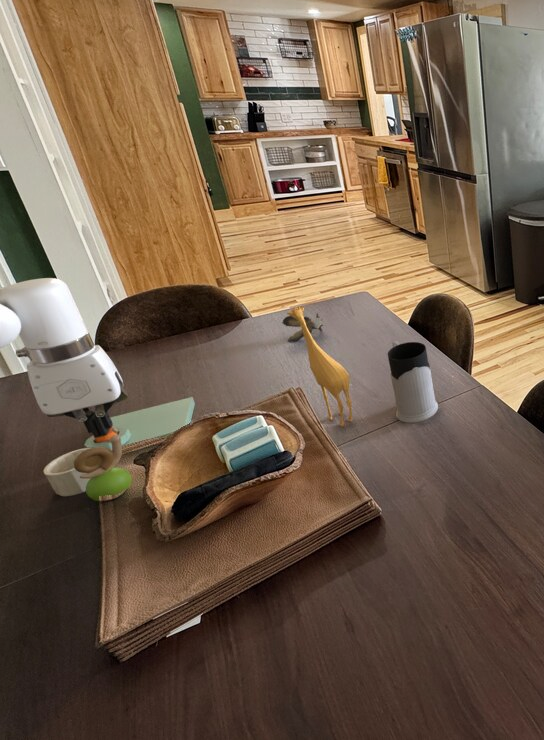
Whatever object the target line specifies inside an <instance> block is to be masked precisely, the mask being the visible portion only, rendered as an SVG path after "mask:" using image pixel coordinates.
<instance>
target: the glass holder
mask: <svg viewBox="0 0 544 740" xmlns="http://www.w3.org/2000/svg"><path fill="white" fill-rule="evenodd" d="M387 359H388V364H389V369H390V379H391V384H392V390H393V394H394V400H395V403H396V413H395V415H396V416H395V417H396V418H397V419H398V421H400V422H403V423H406V424H415V423H419V422H423V421H426V420H427V419H429V418H432V417H433V416H434V415H435V414H436V413H437V412H438V409H439V404H438V402H437V400H436V397H435V392H434V390H435V389H434V384H433V379H432V373H431V365H430V363H429V357H428V352H427V346H426V345H425V344H424V343H422V342H419V341H409V342H403V343H400V344H399V342H398V341H397V340H395V341H393V342H392V347H391V348H390V349H389V350H388V352H387Z"/></svg>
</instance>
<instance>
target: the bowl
mask: <svg viewBox="0 0 544 740" xmlns="http://www.w3.org/2000/svg"><path fill="white" fill-rule="evenodd" d="M87 449H90V448H85V447H84V448H80V449H76V450H72V451H70V452H67V453H65V454H62V455H60V456H58V457H56V458H55V459H53V460H51V461H50V462H49V463H47V465H46V466H45V467H44V469H43V470H42V472H43V474H44V476H45V477H46V479H47V480H48V482H49V484H50V486H51V488H52V490H53V491H54V493H55V494H56V495H59V496H60V497H72V496H76V495H79V494H82V493H86V485H87V483H88V481H89V479H84V478H80V476H81V475H84V474H86V473H81V472H78V471H76V470H75V468H74V461H75V459H76V458H77V456H78V455H79V454H81V453H82V452H84V451H85V450H87Z"/></svg>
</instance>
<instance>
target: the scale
mask: <svg viewBox="0 0 544 740" xmlns="http://www.w3.org/2000/svg"><path fill="white" fill-rule="evenodd" d="M195 406H196V403H195V400H194V397H193V396H190V397H187V398H182V399H178V400H173V401H170V402H167V403H162V404H158V405H155V406H151V407H147V408H142V409H138V410H134V411H131V412H126V413H123V414H118V415H115V416H110V418H111V420H112V423H113V426H112V427H114V428H116V430H118V432H117V433H118V435H120V436H121V437H120V438H121V446H124V445H128V444H131V443H135V442H139V441H142V440H146V439H152V438H159V437H165V436H167V435H169V434H171V433H173V432H174V431H176V430H178V429H180V428H181V427H183V426H185V425H187V424H189V423H190V422H191V423H192V419H193V413H194V409H195ZM191 423H190V424H191ZM84 442H85V443H83V445H84V448H94V447H106V448H108V449H110V450H112V444H111V443H110V441H106V442H102V443H96V441H95V439H94V437H93V435H91V436H90V437H89V438H87V439H86V440H85V441H84Z"/></svg>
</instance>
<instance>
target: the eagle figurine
mask: <svg viewBox="0 0 544 740" xmlns="http://www.w3.org/2000/svg"><path fill="white" fill-rule="evenodd" d="M303 317H304V320H305V323H306V326H307V328H308V330H309V332H310V334H312V333H313V330H319V331H320V332H323V328H322V327H324V325H323V324H322V321H323V320H324V319H323V318H322V319H321V318H320V315H319V312H317V313H316V317H315V318H314V320H313V321H312V319H311V318H310V317H308V316H303ZM281 323H282V325H285V327H292V328H293V327H295V328H299V327H300V328H301V326H300V324H299V322H298V320H297V319H295V318H294V317H292V316H290V315H288V316H286V317H285V316H284V318H283V319H282V322H281ZM302 338H305V337H304V334H303V331H302V329H300V330H298V331H296V332H295V333H294V334H292V335H290V336H289V338H287V340H286V341H287V342H289V343H296V342H298V341H300V340H301V339H302Z"/></svg>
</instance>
